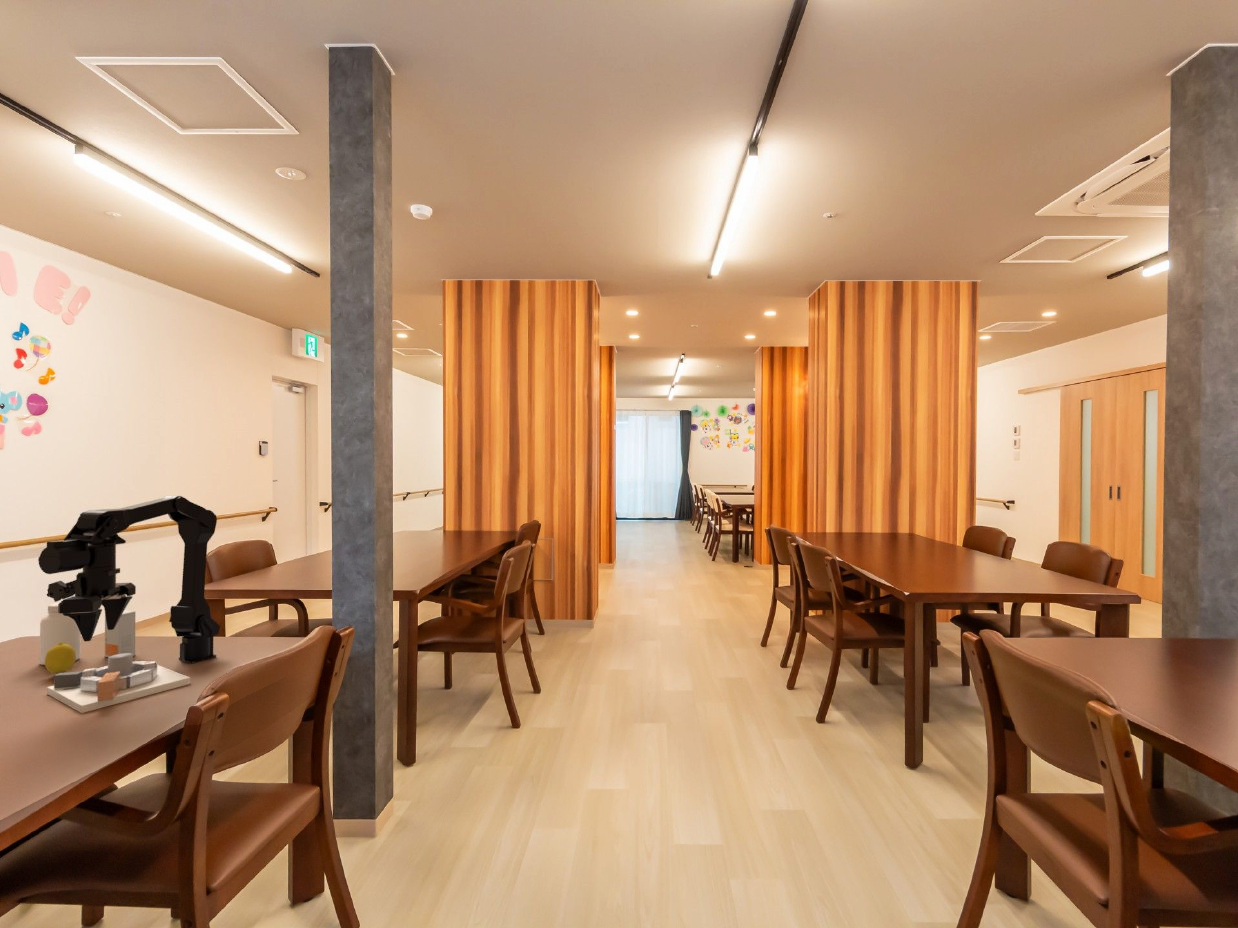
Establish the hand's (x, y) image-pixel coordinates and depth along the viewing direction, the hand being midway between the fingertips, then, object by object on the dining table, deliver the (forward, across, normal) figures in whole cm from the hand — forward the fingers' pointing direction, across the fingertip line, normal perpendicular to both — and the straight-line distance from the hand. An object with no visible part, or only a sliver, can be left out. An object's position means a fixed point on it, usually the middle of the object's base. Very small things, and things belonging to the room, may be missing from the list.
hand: (99, 635), depth 137 cm
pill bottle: (+14, -29, -23) cm, 39 cm away
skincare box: (+14, -30, -10) cm, 35 cm away
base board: (+13, -2, +3) cm, 14 cm away
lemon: (+14, -16, -16) cm, 26 cm away
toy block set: (+11, +1, +4) cm, 12 cm away
